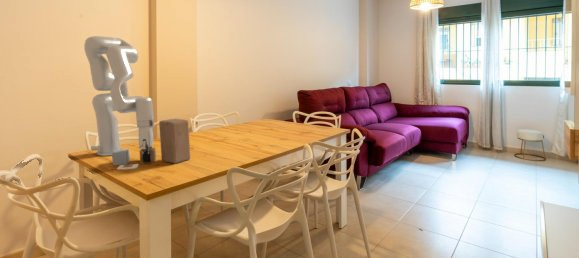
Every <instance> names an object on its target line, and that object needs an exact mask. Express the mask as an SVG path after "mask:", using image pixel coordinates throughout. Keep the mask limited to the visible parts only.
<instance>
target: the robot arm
mask: <svg viewBox="0 0 579 258" xmlns="http://www.w3.org/2000/svg"><path fill="white" fill-rule="evenodd" d="M83 45H84V53H85V56H86V58H87V60H88V62H89V63H88V64H89V69H90V74H91V75H90V76H91V80H92V81H91V82H92V85H93V88H94V89H95V90H96V91H101V92H107V91H110V92H109V93H99V94H96V95H95V96H93V97H92V102H91V104H92V108H93V111H94V113H95V119H96V120H95V121H96V127H97V135H98V145H96V146H95V145H91V147H90V150H92V151H96V156H99V157H102V156H103V157H104V156H105V157H107V156H108V157H109V156H112V152H113V151H115V150H121V149H122V148H121V142H120V133H119V122H118V118H117V116H116V115H115V114H114V113H113V112H118V113H120V114H130V113H135V119H136V127H137V128H138V148H139V149H143V162H150V161H151V159H150V154H149V148H153V144H154V132H153V131H154V129H153V127H155V120H154V119H155V118H154V105H153V104H154V103H153V99H152V98H151V97H148V96H147V97H145V96H139V95H138V96H135V95H134V96H130V95H129V89H128V88H129V87H128V83H127V82H128V81H129V80H131V79H132V78H133V77H134V72H133V70H132V67H131V64H136V63H137V62H138V59H139V55H138V51H137V50H136V48H135V47H133V45H131V44H130V43H129V42H127V41H125V40H124V39H122V38H118V37H108V36H100V35H99V36H97V35H96V36H95V35H94V36H89V37H87V38H86V39H85V41H84V44H83ZM104 55H106V57H105V56H104ZM106 58H107V59H106ZM110 69H111V70H110ZM147 149H148V151H147Z"/></svg>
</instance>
